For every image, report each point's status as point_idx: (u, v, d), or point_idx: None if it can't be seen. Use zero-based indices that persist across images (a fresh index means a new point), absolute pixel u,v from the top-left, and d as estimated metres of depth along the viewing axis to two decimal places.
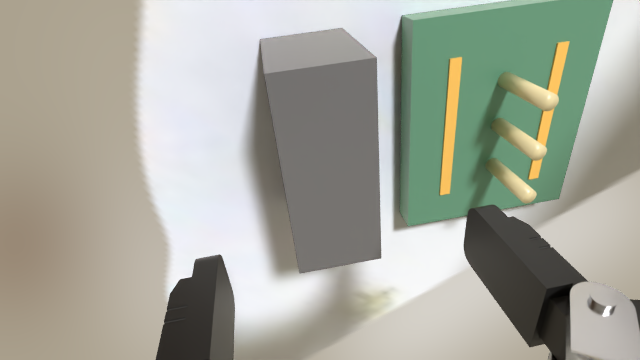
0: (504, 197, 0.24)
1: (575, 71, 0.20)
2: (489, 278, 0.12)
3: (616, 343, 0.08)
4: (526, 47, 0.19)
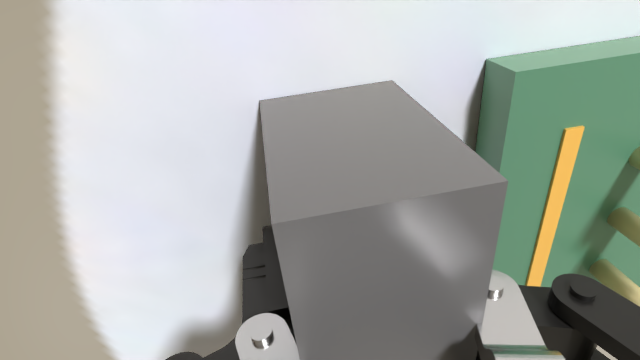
0: None
1: None
2: None
3: (513, 324, 0.08)
4: None
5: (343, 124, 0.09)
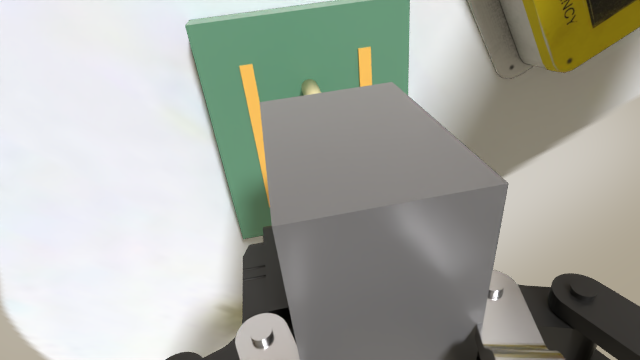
0: None
1: (387, 78, 0.19)
2: None
3: (513, 324, 0.08)
4: (324, 54, 0.18)
5: (343, 126, 0.09)
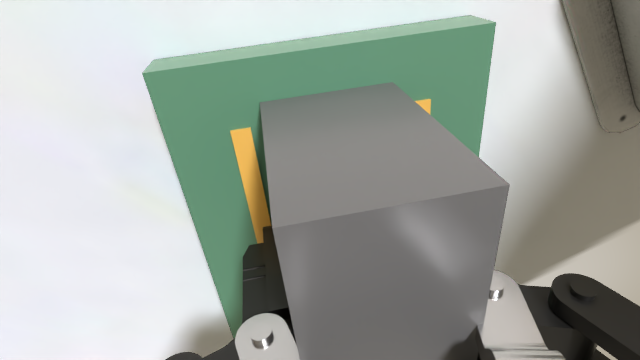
0: None
1: None
2: None
3: (513, 324, 0.08)
4: None
5: (344, 126, 0.09)
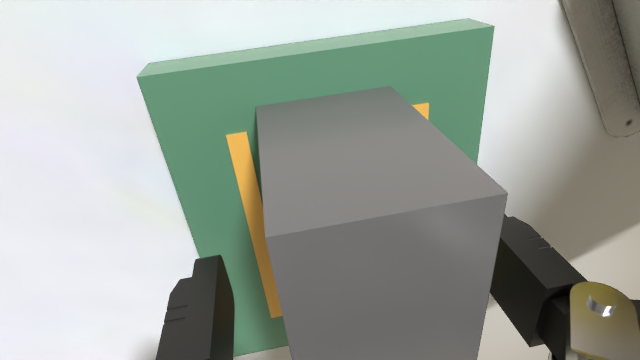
0: None
1: None
2: None
3: (615, 343, 0.08)
4: None
5: (340, 132, 0.09)
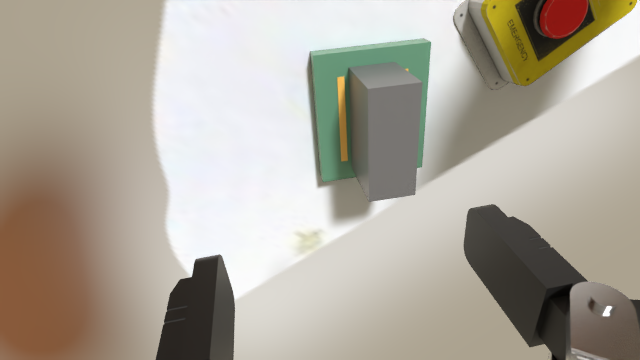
0: None
1: None
2: (489, 278, 0.12)
3: (615, 343, 0.08)
4: None
5: (380, 73, 0.30)
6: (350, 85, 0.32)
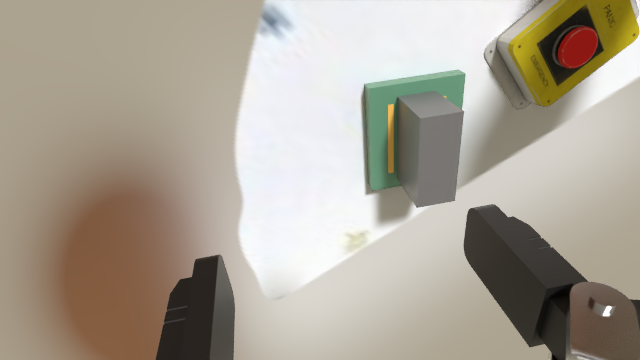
0: None
1: None
2: (489, 278, 0.12)
3: (615, 343, 0.08)
4: None
5: (426, 102, 0.37)
6: (398, 111, 0.39)
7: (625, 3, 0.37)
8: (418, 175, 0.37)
